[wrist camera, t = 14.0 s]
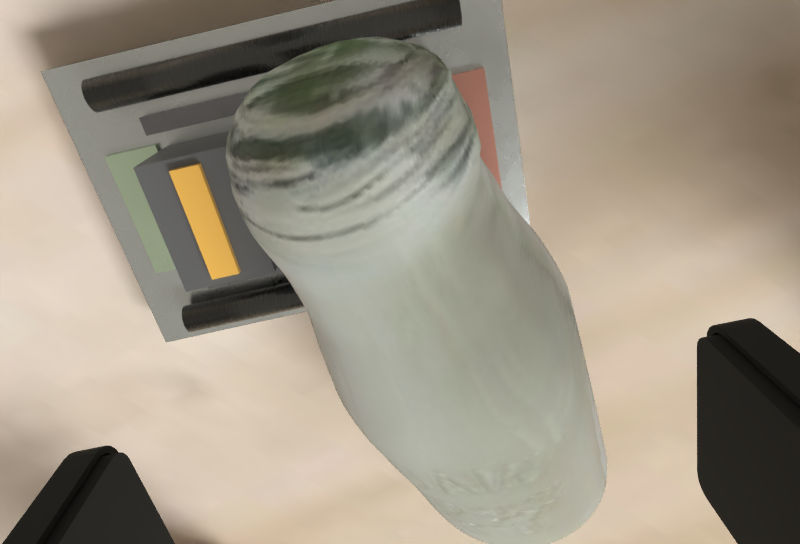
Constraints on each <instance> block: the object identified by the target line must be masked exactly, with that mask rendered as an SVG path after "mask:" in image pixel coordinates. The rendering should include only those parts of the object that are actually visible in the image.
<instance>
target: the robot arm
mask: <svg viewBox="0 0 800 544" xmlns="http://www.w3.org/2000/svg"><path fill="white" fill-rule="evenodd" d="M697 472H698V479H699V482H700V485H701V488H702V490H703V493H704V494H705V496H706V498H707V499H708V501H709V502H710V504H711V505H712V507H713V508H714V510H715V511H716V513H717V514H718V516H719V517H720V519H721V520H722V521H723V523H724V524H725V526H726V527H727V529H728V530H729V532H730V533H731V535H732V536H733V538H734V539H735V540H736V542H737V543H738V544H800V353H799V352H797V351H796V350H795V349H794V348H792V347H791V346H790V345H788V344H787V343H786V342H785V341H783V340H782V339H781V338H780V337H778V336H777V335H776V334H774V333H773V332H772V331H771V330H769V329H768V328H767V327H766V326H764V325H763V324H762V323H761V322H759V321H757V320H756V319H751V318H748V319H743V320H738V321H733V322H728V323H723V324H718V325H713V326H711V327H710V328H709V330H708V332H707V337H703V338H700V339H699V341H698V343H697ZM3 544H175V543H174V541H173V539H172V538H171V536H170V534H169V532H168V530H167V528H166V526H165V525H164V523H163V521H162V519H161V517H160V515H159V513H158V511H157V510H156V508H155V506H154V504H153V502H152V500H151V498H150V496H149V495H148V493H147V491H146V489H145V487H144V485H143V483H142V482H141V480H140V478H139V476H138V474H137V472H136V470H135V468H134V467H133V465H132V463H131V461H130V459H129V458H128V456H127V455H126V454H124V453H118V451H117V450H116V449H115V448H113V447H112V446H102V447H97V448H92V449H87V450H82V451H77V452H74V453H71V454H69V455H68V456H67V457H66V458H65V459H64V460H63V462H62V463H61V465H60V466H59V467H58V469H57V470H56V471H55V473H54V474H53V475H52V477H51V478H50V480H49V481H48V482H47V484H46V485H45V486H44V488H43V489H42V490H41V492H40V493H39V494H38V496H37V497H36V499H35V500H34V501H33V503H32V504H31V505H30V507H29V508H28V509H27V511H26V512H25V514H24V515H23V516H22V518H21V519H20V520H19V522H18V523H17V524H16V526H15V527H14V529H13V530H12V531H11V533H10V534H9V535H8V537H7V538H6V539H5V541H4V542H3Z"/></svg>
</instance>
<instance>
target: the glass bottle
mask: <svg viewBox="0 0 800 544" xmlns="http://www.w3.org/2000/svg"><path fill="white" fill-rule="evenodd" d="M480 151H481V143H480V139H479V135H478V131H477V128H476V125H475V121H474V118H473V115H472V112H471V110H470V108H469V107H468V105H467V104H466V102H465V101H464V99H463V98H462V96H461V94H460V92H459V90H458V88H457V86H456V84H455V82H454V80H453V78H452V76H451V69H448V68H447V66H446V65H445V64H444V62H443V61H442V60H441V59H440V58H439V57H438V56H437V55H436V54H434V53H432V52H431V51H429V50H428V49H426V48H424V47H422V46H421V45H419V44H416V43H412V42H407V41H399V40H394V39H390V38H383V37H365V38H356V39H350V40H344V41H338V42H334V43H331V44H328V45H325V46H322V47H318V48H316V49H313V50H311V51H309V52H306V53H304V54H301V55H299V56H297V57H295V58H293V59H291V60H289V61H288V62H286V63H284V64H282V65H280V66H278V67H276V68H274V69H273V70H271V71H269V72H268V73H266V74H265V75H264V76H263V77H262V78H261V79H260V80H259V81H258V82H257V83H256V84H255V85H254V86H252V88H251V89H250V91H249V92H248V94H247V95H246V97H245V98H244V100H243V102H242V103H241V105H240V106H239V108H238V110H237V111H236V113H235V116H234V119H233V122H232V125H231V128H230V131H229V134H228V137H227V143H226V162H227V167H228V173H229V178H230V183H231V188H232V193H233V196H234V198H235V201H236V203H237V206H238V208H239V211H240V213H241V216H242V218H243V220H244V222H245V224H246V225H247V227H248V229H249V230H250V232H251V234H252V235H253V237H254V238H255V240H256V241H257V242H258V243H259V245H260V246H261V247H262V248H263V250H264V251H265V252H266V253H267V254H268V256H269V257H270V258H271V259H272V260H273V262H274V263H275V264H276V265H277V266H278V267H279V268H280V269H281V271H282V272H283V273H284V275H285V276H286V277H287V279H288V280H289V282H290V283H291V285H292V287H293V288H294V290H295V292H296V293H297V295H298V296H299V298H300V300H301V301H302V303H303V305H304V307H305V309H306V310H307V312H308V314H309V315H310V318H311V323H312V325H313V328H314V331H315V334H316V338H317V341H318V344H319V347H320V349H321V352H322V354H323V357H324V359H325V362H326V365H327V367H328V370H329V373H330V375H331V378H332V380H333V383H334V385H335V388H336V391H337V393H338V395H339V397H340V399H341V401H342V403H343V405H344V407H345V408H346V410H347V411H348V413H349V415H350V416H351V417H352V419H353V420H354V422H355V423H356V425H357V426H358V427H359V429H360V430H361V431H362V432H363V434H364V435H365V436H366V437H367V438H368V440H369V441H370V442H371V443H372V444H373V445H374V446H375V447H376V448H377V449H378V450H379V451H380V452H381V453H382V454H383V455H384V456H385V457H386V458H387V459H388V460H389V462H390V463H391V464H392V465H393V466H394V467H395V468H396V469H397V470H398V471H400V472H401V473H402V474H403V475H404V476H405V477H406V478H407V479H408V480H409V481H410V482H411V483H412V484H413V485H414V486H415V487H416V488H417V489H418V490H419V491H420V492H421V493H422V494H423V496H424V497H425V498H426V499H427V500H428V501H429V502H430V504H431V505H432V506H433V507H434V508H435V509H436V510H437V511H438V512H439V513H440V514H441V515H442V516H443V517H444V518H445V519H446V520H447V521H448V522H449V523H451V524H452V525H453V526H454V527H456V528H457V529H458V530H460V531H462V532H463V533H465V534H467V535H468V536H470V537H472V538H475V539H477V540H479V541H482V542H485V543H488V544H550V543H553V542H555V541H558V540H560V539H562V538H564V537H566V536H568V535H569V534H571V533H572V532H574V531H575V530H577V529H578V528H579V527H581V526H582V525H583V524H584V523H585V522H586V521H587V520H588V519H589V518H590V517H591V515H592V514H593V513H594V512H595V510H596V509H597V507H598V505H599V503H600V501H601V499H602V496H603V493H604V490H605V486H606V478H607V456H606V451H605V446H604V442H603V437H602V432H601V427H600V423H599V418H598V414H597V409H596V405H595V400H594V396H593V391H592V387H591V382H590V378H589V373H588V369H587V365H586V361H585V357H584V352H583V348H582V344H581V340H580V336H579V332H578V327H577V323H576V319H575V315H574V311H573V307H572V302H571V298H570V295H569V291H568V287H567V285H566V282H565V280H564V278H563V276H562V273H561V272H560V270H559V268H558V266H557V265H556V263H555V261H554V260H553V258H552V256H551V255H550V253H549V251H548V250H547V248H546V247H545V245H544V244H543V242H542V241H541V239H540V238H539V237H538V235H537V234H536V232H535V231H534V230H533V229H532V228H531V226H530V225H529V224H528V223H527V222H526V221H525V220H524V218H523V217H522V216H521V215H520V214H519V212H518V211H517V210H516V209H515V208H514V206H513V205H512V204H511V203H510V202H509V201H508V199H507V198H506V196H505V194H504V192H503V191H502V189H501V187H500V186H499V184H498V182H497V181H496V179H495V177H494V176H493V174H492V172H491V171H490V170H489V168H488V167H487V166H486V164H485V163H484V161H483V160H482V158H481V157H480Z"/></svg>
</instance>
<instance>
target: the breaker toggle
mask: <svg viewBox="0 0 800 544" xmlns="http://www.w3.org/2000/svg"><path fill="white" fill-rule="evenodd" d="M228 134H229V132H226V133H222V134H218V135H214V136H209V137H205V138H201V139H196V140H192V141H188V142H184V143H179V144H175V145H171V146H167V147H165V148H163V149H162V150H160V151H158V152H157V153H155V154H154V155H152V156H151V157H149V158H148V159H146V160H145V161H143V162H141V163H140V164H138V165H137V166H135V167H134V168H133V169H134V171H135V173H136V176H137V178H138V180H139V183H140V185H141V187H142V190H143V192H144V194H145V197H146V199H147V202H148V204H149V206H150V209H151V211H152V213H153V216H154V218H155V220H156V223H157V225H158V227H159V230H160V232H161V234H162V237H163V239H164V241H165V244H166V246H167V249H168V251H169V253H170V256H171V258H172V260H173V263H174V265H175V267H176V270H177V272H178V274H179V277H180V279H181V281H182V284H183V286H184V289H185V291H186V292H188V291H193V290H197V289H201V288H206V287H210V286H215V285H219V284H224V283H228V282H233V281H237V280H242V279H246V278H251V277H255V276H259V275H264V274H268V273H273V272H275V271H276V268H277V265H276V264H275V263H274V262H273V260H272V259H271V258H270V257H269V256H268V254H267V253H266V252H265V251H264V250H263V248H262V247H261V246H260V245H259V243H258V242H257V241H256V240H255V238H254V237H253V235H252V234H251V232H250V230H249V229H248V227H247V225H246V224H245V222H244V220H243V218H242V216H241V213H240V211H239V208H238V206H237V203H236V201H235V198H234V196H233V193H232V188H231V183H230V178H229V173H228V167H227V162H226V143H227V137H228Z"/></svg>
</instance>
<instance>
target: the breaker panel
mask: <svg viewBox="0 0 800 544" xmlns="http://www.w3.org/2000/svg"><path fill="white" fill-rule="evenodd" d="M365 37H383V38H390V39H394V40H399V41H407V42H412V43H416V44H419V45H421V46H422V47H424V48H426V49H428V50H429V51H431V52H432V53H434V54H436V55H437V56H438V57H439V58H440V59H441V60H442V61H443V62H444V64H445V65H446V66H447V68H448V69H451V76H452V78H453V80H454V82H455V84H456V86H457V88H458V90H459V92H460V94H461V96H462V98H463V99H464V101H465V102H466V104H467V105H468V107H469V108H470V110H471V112H472V115H473V118H474V121H475V125H476V128H477V131H478V135H479V139H480V143H481V151H480V157H481V158H482V160H483V161H484V163H485V164H486V166H487V167H488V168H489V170H490V171H491V172H492V174H493V176H494V177H495V179H496V181H497V182H498V184H499V186H500V187H501V189H502V191H503V192H504V194H505V196H506V198H507V199H508V201H509V202H510V203H511V204H512V205H513V206H514V208H515V209H516V210H517V211H518V212H519V214H520V215H521V216H522V217H523V218H524V220H525V221H526V222H527V223H528V224H529V225H530V220H529V212H528V205H527V197H526V189H525V181H524V173H523V165H522V157H521V149H520V141H519V134H518V126H517V118H516V110H515V102H514V94H513V86H512V78H511V70H510V63H509V55H508V47H507V39H506V31H505V23H504V15H503V7H502V0H335V1H331V2H327V3H322V4H318V5H314V6H310V7H306V8H302V9H298V10H293V11H289V12H285V13H281V14H277V15H273V16H269V17H265V18H260V19H256V20H252V21H248V22H244V23H240V24H236V25H231V26H227V27H223V28H219V29H215V30H211V31H207V32H202V33H198V34H194V35H190V36H186V37H182V38H178V39H173V40H169V41H165V42H161V43H157V44H153V45H149V46H145V47H140V48H136V49H132V50H128V51H124V52H120V53H116V54H111V55H107V56H103V57H99V58H95V59H91V60H87V61H82V62H78V63H74V64H70V65H66V66H62V67H58V68H54V69H49V70H45V71H41V73H42V75H43V77H44V79H45V82H46V84H47V86H48V88H49V90H50V92H51V95H52V97H53V99H54V101H55V103H56V105H57V108H58V110H59V112H60V114H61V116H62V118H63V121H64V123H65V125H66V127H67V129H68V131H69V134H70V136H71V138H72V140H73V142H74V144H75V147H76V149H77V151H78V153H79V155H80V157H81V159H82V162H83V164H84V166H85V168H86V170H87V172H88V175H89V177H90V179H91V181H92V183H93V185H94V188H95V190H96V192H97V194H98V196H99V198H100V201H101V203H102V205H103V207H104V209H105V211H106V214H107V216H108V218H109V220H110V222H111V224H112V227H113V229H114V231H115V233H116V235H117V237H118V240H119V242H120V244H121V246H122V248H123V250H124V253H125V255H126V257H127V259H128V261H129V263H130V266H131V268H132V270H133V272H134V274H135V276H136V279H137V281H138V283H139V285H140V287H141V289H142V292H143V294H144V296H145V298H146V300H147V302H148V305H149V307H150V309H151V311H152V313H153V315H154V318H155V320H156V322H157V324H158V326H159V328H160V331H161V333H162V335H163V337H164V339H165V341H166V342H170V341H174V340H179V339H184V338H188V337H193V336H197V335H202V334H206V333H211V332H215V331H220V330H224V329H229V328H233V327H238V326H242V325H247V324H251V323H256V322H260V321H265V320H270V319H274V318H279V317H283V316H288V315H292V314H297V313H301V312H306V311H307V310H306V309H305V307H304V305H303V303H302V301H301V300H300V298H299V296H298V295H297V293H296V292H295V290H294V288H293V287H292V285H291V283H290V282H289V280H288V279H287V277H286V276H285V275H284V273H283V272H282V271H281V269H280V268H279V267H278V266H277V268H276V271H275V272H273V273H268V274H264V275H259V276H255V277H251V278H246V279H242V280H237V281H233V282H228V283H224V284H219V285H215V286H210V287H206V288H201V289H197V290H193V291H188V292H186V291H185V289H184V286H183V284H182V281H181V279H180V277H179V274H178V272H177V270H176V267H175V265H174V263H173V260H172V258H171V256H170V253H169V251H168V249H167V246H166V244H165V241H164V239H163V237H162V234H161V232H160V230H159V227H158V225H157V223H156V220H155V218H154V216H153V213H152V211H151V209H150V206H149V204H148V202H147V199H146V197H145V194H144V192H143V190H142V187H141V185H140V183H139V180H138V178H137V176H136V173H135V171H134V169H133V168H134V167H135V166H137V165H138V164H140V163H141V162H143V161H145V160H146V159H148V158H149V157H151V156H152V155H154V154H155V153H157V152H158V151H160V150H162V149H163V148H165V147H167V146H171V145H175V144H179V143H184V142H188V141H192V140H196V139H201V138H205V137H209V136H214V135H218V134H222V133H226V132H229V131H230V128H231V125H232V122H233V119H234V116H235V113H236V111H237V110H238V108H239V106H240V105H241V103H242V102H243V100H244V98H245V97H246V95H247V94H248V92H249V91H250V89H251V88H252V86H254V85H255V84H256V83H257V82H258V81H259V80H260V79H261V78H262V77H263V76H264V75H265V74H266V73H268V72H269V71H271V70H273V69H274V68H276V67H278V66H280V65H282V64H284V63H286V62H288V61H289V60H291V59H293V58H295V57H297V56H299V55H301V54H304V53H306V52H309V51H311V50H313V49H316V48H318V47H322V46H325V45H328V44H331V43H334V42H338V41H344V40H350V39H356V38H365Z"/></svg>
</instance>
